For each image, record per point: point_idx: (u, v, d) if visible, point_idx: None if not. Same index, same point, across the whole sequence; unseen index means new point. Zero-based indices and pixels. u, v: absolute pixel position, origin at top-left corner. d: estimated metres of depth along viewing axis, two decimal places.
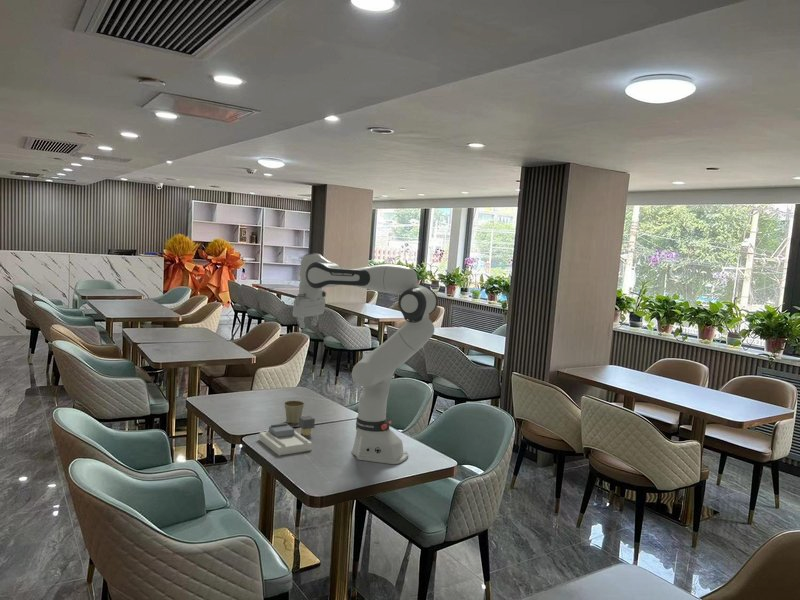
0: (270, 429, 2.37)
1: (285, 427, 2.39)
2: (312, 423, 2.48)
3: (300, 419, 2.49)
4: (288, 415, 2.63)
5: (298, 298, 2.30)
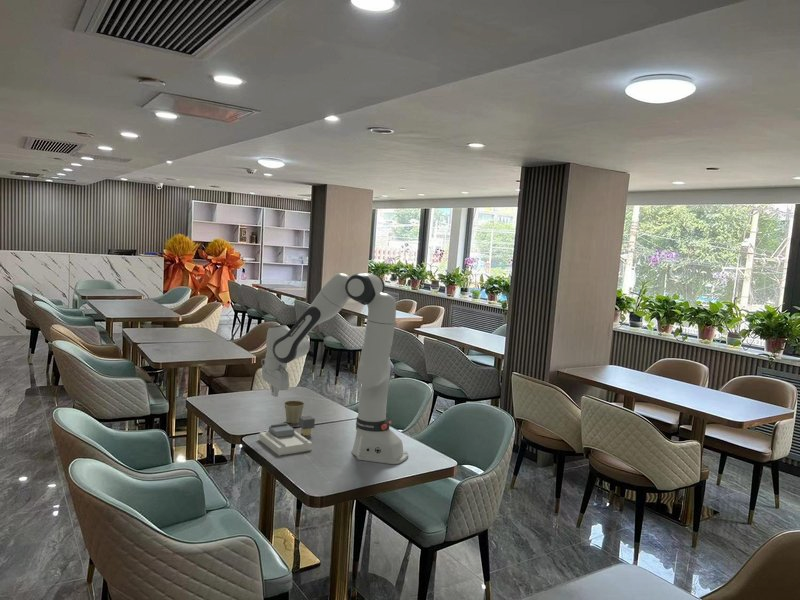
0: (270, 429, 2.37)
1: (285, 427, 2.39)
2: (312, 423, 2.48)
3: (300, 419, 2.49)
4: (288, 415, 2.63)
5: None
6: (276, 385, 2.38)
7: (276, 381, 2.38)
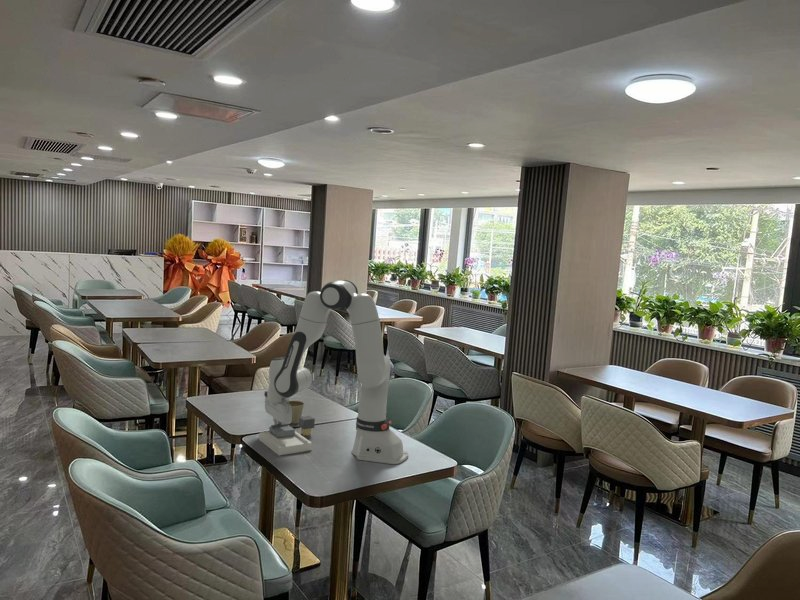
0: (270, 429, 2.37)
1: (285, 427, 2.39)
2: (312, 423, 2.48)
3: (300, 419, 2.49)
4: None
5: None
6: (279, 418, 2.36)
7: (279, 414, 2.36)
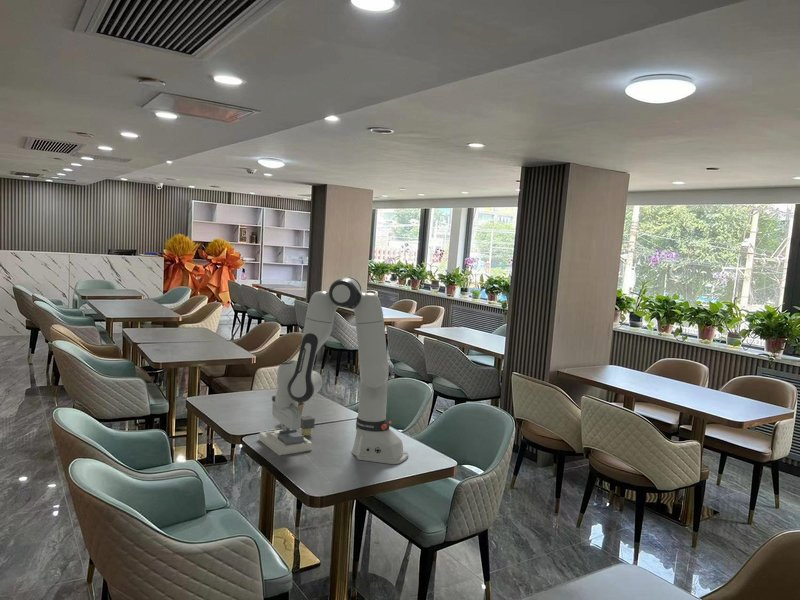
0: (279, 436, 2.30)
1: (294, 433, 2.32)
2: (312, 423, 2.48)
3: None
4: None
5: None
6: (287, 424, 2.29)
7: (287, 419, 2.29)
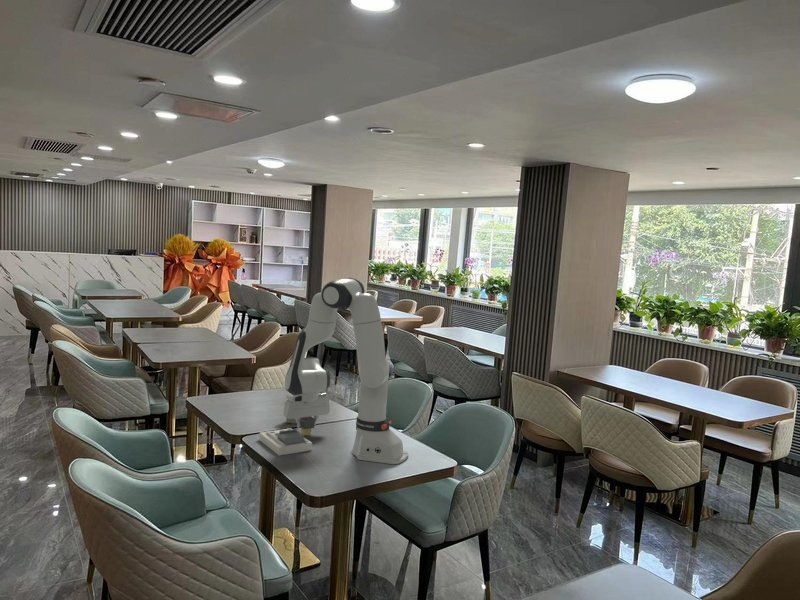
0: (279, 436, 2.30)
1: (294, 433, 2.32)
2: (312, 423, 2.48)
3: (300, 419, 2.49)
4: None
5: None
6: (320, 412, 2.51)
7: (320, 408, 2.51)
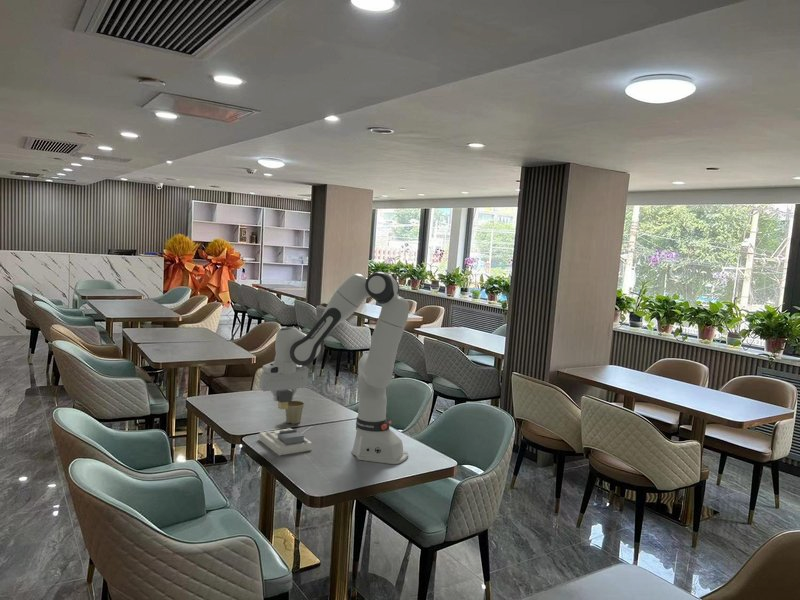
0: (279, 436, 2.30)
1: (294, 433, 2.32)
2: (289, 396, 2.36)
3: (277, 392, 2.37)
4: (288, 415, 2.63)
5: None
6: (298, 385, 2.39)
7: (298, 381, 2.38)
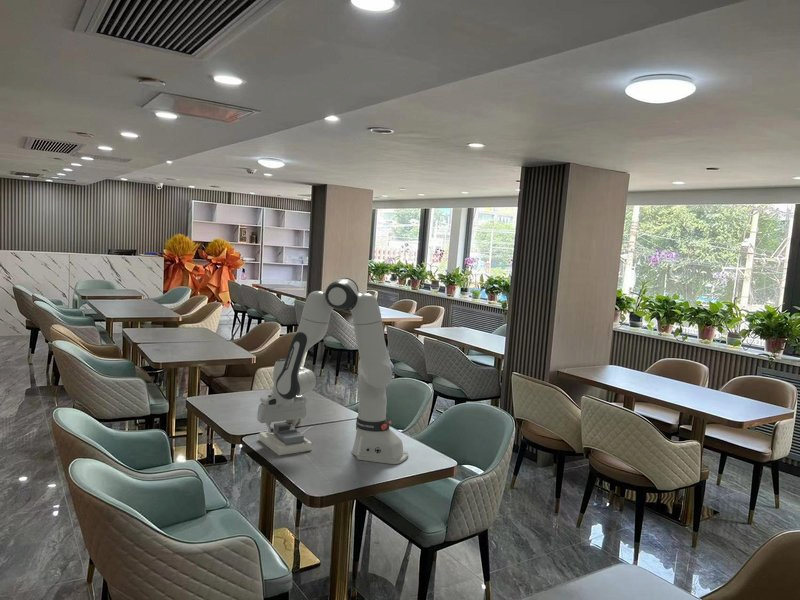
0: (279, 436, 2.30)
1: (294, 433, 2.32)
2: None
3: (275, 426, 2.37)
4: None
5: None
6: (296, 416, 2.39)
7: (296, 412, 2.39)
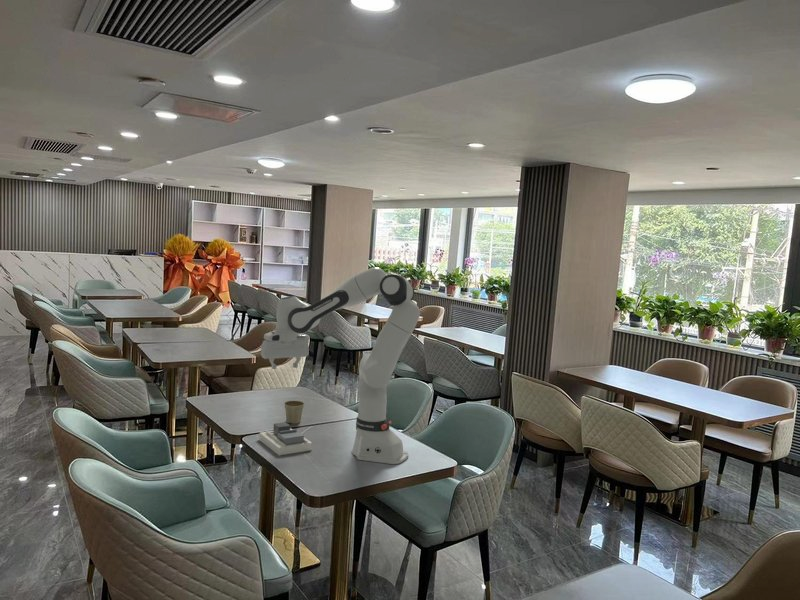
0: (279, 436, 2.30)
1: (294, 433, 2.32)
2: None
3: (275, 426, 2.37)
4: (288, 415, 2.63)
5: None
6: (299, 354, 2.44)
7: (299, 350, 2.44)
